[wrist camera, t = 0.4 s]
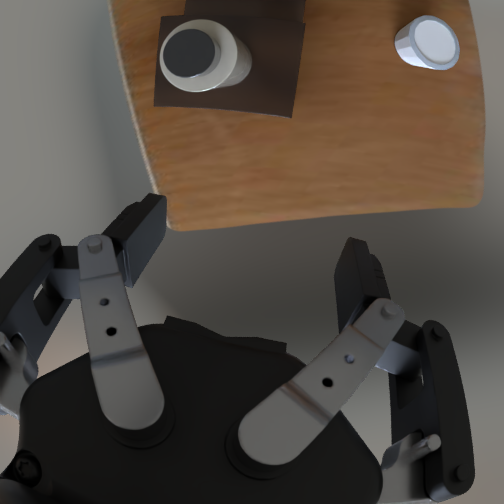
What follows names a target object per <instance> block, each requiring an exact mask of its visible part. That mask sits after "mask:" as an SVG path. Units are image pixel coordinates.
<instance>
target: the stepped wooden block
mask: <svg viewBox="0 0 504 504" xmlns="http://www.w3.org/2000/svg"><path fill="white" fill-rule="evenodd" d="M305 1H306V0H186V4H185V11H184V15H178V16H162V17H161V23H160V32H159V41H158V51H157V62H156V75H155V91H154V107H187V108H205V109H218V110H229V111H239V112H249V113H257V114H265V115H272V116H279V117H285V118H292V112H293V106H294V99H295V92H296V86H297V79H298V72H299V66H300V59H301V52H302V45H303V38H304V31H305V23H303V16H304V8H305ZM199 19H204V20H211V21H214V22H217V23H219V24H221V25H223V26H224V27H225V28H227V29H228V30H229V31H230V32H231V33H233V34H234V35H235V36H236V37H237V38H238V39H240V40H241V41H242V42H243V43H244V44H245V45H246V46H247V47H248V48H249V50H250V52H251V55H252V66H251V69H250V72H249V73H248V75H247V76H246V77H245V78H244V79H243V80H242V81H241V82H239V83H237V84H235V85H232V86H227V87H222V88H217V89H212V90H207V91H201V92H190V91H185V90H182V89H179V88H177V87H176V86H174V85H173V84H171V83H170V82H169V81H168V80H167V78H166V77H165V75H164V74H163V72H162V69H161V65H160V51H161V48H162V45H163V43H164V41H165V39H166V38H167V36H168V35H169V34H170V33H171V32H172V31H173V30H174V29H175V28H177V27H178V26H180V25H181V24H183V23H186V22H189V21H192V20H199Z"/></svg>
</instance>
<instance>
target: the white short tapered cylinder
mask: <svg viewBox="0 0 504 504" xmlns="http://www.w3.org/2000/svg"><path fill="white" fill-rule="evenodd" d="M394 43H395V47H396V51H397V52H398V54H399V55H400V57H401V58H402V59H403V60H404V61H406V62H407V63H409V64H412V65H414V66H420V67H426V68H431V69H437V70H446V69H448V68H450V67H453V66H454V64H455V63H456V62H457V60H458V58H459V52H460V48H459V43H458V39H457V37H456V35H455V33H454V32H453V30H452V29H451V28H450V27H449V26H448V25H447V24H446V23H445V22H444V21H443V20H441V19H439V18H437V17H434V16H426V15H424V16H421V17H419V18H416V19H415V20H413V21H412V22H410V23H409V24H408V25H406V26H405V27H404V28H402V29H401V30H400V31H399V32H398V33H397V34H396V37H395V42H394Z"/></svg>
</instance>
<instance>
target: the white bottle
mask: <svg viewBox="0 0 504 504" xmlns="http://www.w3.org/2000/svg"><path fill="white" fill-rule="evenodd" d="M160 65H161V69H162V72H163V74H164V75H165V77H166V78H167V80H168V81H169V82H170V83H171V84H173V85H174V86H176V87H177V88H179V89H182V90H185V91H190V92H201V91H207V90H212V89H217V88H222V87H227V86H232V85H235V84H237V83H239V82H241V81H242V80H243V79H244V78H245V77H246V76H247V75H248V73H249V72H250V69H251V66H252V55H251V52H250V50H249V48H248V47H247V46H246V45H245V44H244V43H243V42H242V41H241V40H240V39H238V38H237V37H236V36H235V35H234V34H233V33H231V32H230V31H229V30H228V29H227V28H225V27H224V26H223V25H221V24H219V23H217V22H214V21H211V20H204V19H199V20H192V21H189V22H186V23H183V24H181V25H180V26H178V27H177V28H175V29H174V30H173V31H172V32H171V33H170V34H169V35H168V36H167V38H166V39H165V41H164V43H163V45H162V48H161V51H160Z"/></svg>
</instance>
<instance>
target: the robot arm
mask: <svg viewBox="0 0 504 504" xmlns="http://www.w3.org/2000/svg"><path fill="white" fill-rule="evenodd" d="M166 211H167V199H166V196H163V195H157V194H152V193H149V194H148V195H147V196H146V197H145V198H144V199H143V200H142V201H141V202H135V203H133V204H131V205H129V206H127V207H126V208H125V209H124V210H123V211H122V212H121V214H119V215H118V217H117V218H116V219H115V220H114V221H113V222H112V223H111V224H110V225H109V226H108V227H107V228H106V230H104V232H103V233H102V234H96V235H91V236H88V237H86V238H84V239H83V240H82V241H80V242H79V244H78V246H62V245H61V241H60V238H59V237H58V236H57V235H54V234H46V235H42V236H40V237H38V238H36V239H35V240H34V241H33V242H32V243H31V244H30V245H29V246H28V247H27V248H26V249H25V250H24V252H23V253H22V254H21V255H20V256H19V257H18V259H17V260H16V261H15V262H14V263H13V264H12V265H11V266H10V268H9V269H8V270H7V271H6V272H5V274H4V275H3V276H2V277H1V279H0V415H6V414H9V415H11V416H13V417H14V418H16V419H18V420H19V422H20V423H19V424H20V430H19V442H18V448H17V452H16V454H15V457H14V458H13V460H12V461H11V463H10V464H9V465H8V466H7V468H6V469H5V470H4V471H3V472H2V473H1V474H0V504H436V503H439V502H442V501H445V500H448V499H451V498H454V497H456V496H459V495H461V494H464V493H465V492H467V491H468V490H469V489H470V488H471V486H472V484H473V481H474V478H475V467H474V454H473V445H472V437H471V429H470V422H469V416H468V410H467V405H466V399H465V394H464V389H463V384H462V380H461V375H460V371H459V367H458V363H457V359H456V355H455V351H454V348H453V344H452V340H451V337H450V334H449V332H448V331H447V329H446V328H445V327H444V326H443V325H442V324H440V323H439V322H437V321H433V320H428V321H426V322H425V323H424V324H423V325H422V327H419V326H417V325H415V324H413V323H411V322H409V321H407V320H405V315H404V312H403V310H402V308H401V307H400V306H399V305H398V304H397V303H395V302H394V301H392V300H391V298H390V294H389V290H388V287H387V283H386V280H385V277H384V274H383V270H382V266H381V263H380V262H379V260H378V259H377V258H376V257H375V255H373V254H370V253H369V250H368V246H367V243H366V241H363V240H359V239H355V238H351V237H350V238H348V239H347V242H346V244H345V246H344V249H343V251H342V253H341V256H340V258H339V261H338V263H337V265H336V269H335V274H334V281H335V291H336V302H337V314H338V327H339V335H338V336H337V337H336V338H335V339H334V340H333V341H332V342H331V343H330V344H329V345H328V346H327V347H326V348H324V349H323V350H322V351H321V352H320V353H319V354H318V355H317V356H316V357H315V358H314V359H313V360H312V361H311V362H310V363H309V364H308V365H306V364H305V363H303V362H302V361H301V360H299V359H298V358H297V357H295V356H293V355H291V354H289V353H287V352H286V345H287V343H284V342H278V341H273V340H268V339H263V338H259V337H225V336H222V335H220V334H217V333H215V332H213V331H211V330H209V329H207V328H205V327H203V326H201V325H199V324H197V323H194V322H190V321H186V320H182V319H179V318H175V317H171V316H167V318H166V320H165V322H164V324H150V325H145V326H140V327H137V325H136V321H135V318H134V315H133V312H132V309H131V305H130V302H129V299H128V295H127V292H126V288H125V286H127V287H130V288H133V286H134V284H135V282H136V281H137V279H138V278H139V276H140V274H141V273H142V271H143V270H144V268H145V266H146V265H147V263H148V262H149V260H150V259H151V257H152V255H153V254H154V252H155V251H156V249H157V248H158V246H159V245H160V243H161V242H162V240H163V238H164V235H165V231H166ZM41 284H42V286H43V288H42V290H41V291H40V293H39V294H38V295H37V297H36V298H35V299H34V301H33V298H34V294H35V292H36V290H37V289H38V287H39V286H40V285H41ZM72 299H80V301H81V308H82V314H83V321H84V327H85V333H86V339H87V344H88V349H89V352H88V353H86V354H84V355H82V356H80V357H78V358H76V359H74V360H72V361H70V362H69V363H67V364H65V365H63V366H61V367H59V368H57V369H55V370H53V371H51V372H49V373H47V374H45V375H43V376H41V377H39V378H38V379H37V376H38V365H37V363H36V362H37V360H38V358H39V357H40V355H41V353H42V351H43V349H44V347H45V345H46V344H47V341H48V340H49V338H50V336H51V335H52V333H53V331H54V329H55V328H56V326H57V324H58V323H59V321H60V319H61V317H62V315H63V314H64V312H65V311H66V309H67V307H68V306H69V304H70V303H71V301H72ZM374 366H376V367H378V368H381V369H383V370H385V371H388V376H389V389H390V406H391V434H392V445H391V446H390V447H388V448H387V449H386V451H385V452H384V454H383V458H382V463H381V465H379V462H378V461H377V459H376V457H375V456H374V455H373V453H372V452H371V451H370V449H369V448H368V447H367V445H366V444H365V443H364V441H363V440H362V439H361V437H360V436H359V435H358V433H357V432H356V431H355V429H354V428H353V426H352V425H351V424H350V422H349V421H348V420H347V418H346V417H345V416H344V415H343V413H342V411H341V410H340V409H341V407H342V406H343V405H344V404H345V403H346V401H347V400H348V399H349V398H350V397H351V396H352V394H353V393H354V392H355V391H356V389H357V388H358V387H359V386H360V384H361V383H362V382H363V381H364V379H365V378H366V377H367V375H368V374H369V373H370V371H371V370H372V369H373V367H374ZM421 375H423V383H422V377H421Z"/></svg>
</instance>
